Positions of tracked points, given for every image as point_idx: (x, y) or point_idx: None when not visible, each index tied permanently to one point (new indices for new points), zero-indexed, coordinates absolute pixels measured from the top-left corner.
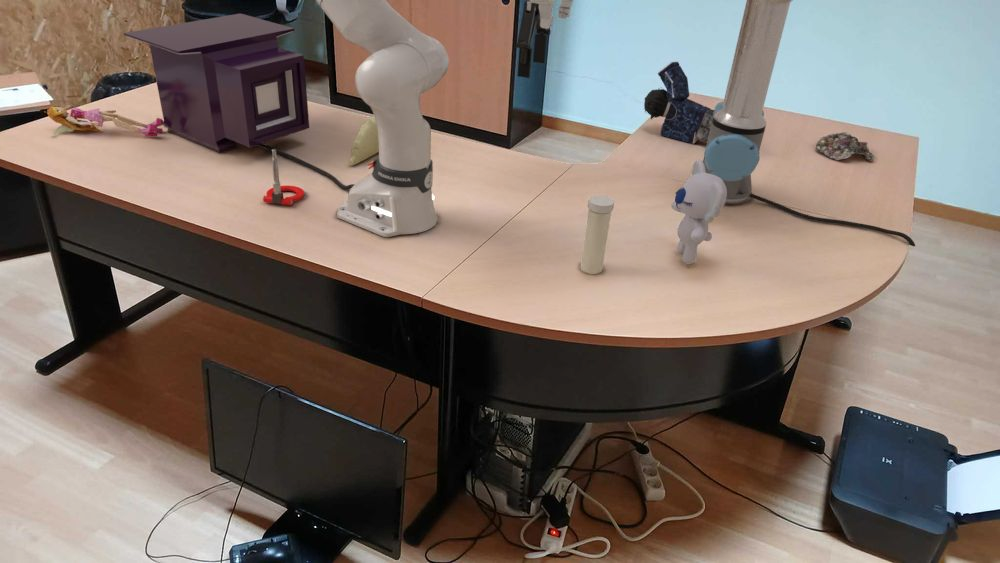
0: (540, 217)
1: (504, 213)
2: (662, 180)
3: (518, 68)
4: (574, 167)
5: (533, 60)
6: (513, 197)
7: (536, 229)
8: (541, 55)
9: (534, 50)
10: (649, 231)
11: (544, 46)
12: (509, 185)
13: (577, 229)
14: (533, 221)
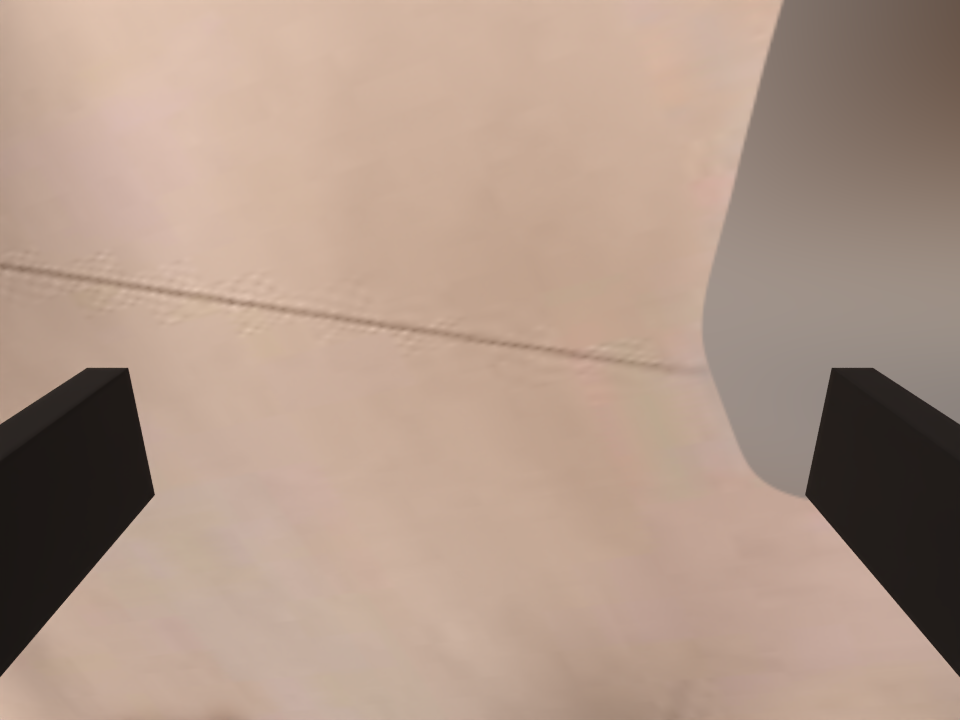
0: (177, 370)
1: (130, 243)
2: (666, 657)
3: (25, 416)
4: (677, 383)
5: (840, 380)
6: (281, 234)
7: None
8: (863, 518)
9: (926, 448)
10: (275, 664)
11: (943, 645)
12: (383, 184)
13: (166, 494)
14: (134, 356)
